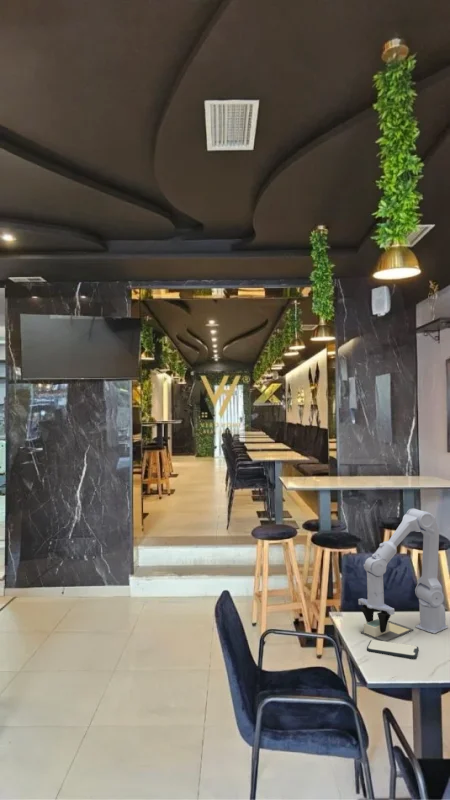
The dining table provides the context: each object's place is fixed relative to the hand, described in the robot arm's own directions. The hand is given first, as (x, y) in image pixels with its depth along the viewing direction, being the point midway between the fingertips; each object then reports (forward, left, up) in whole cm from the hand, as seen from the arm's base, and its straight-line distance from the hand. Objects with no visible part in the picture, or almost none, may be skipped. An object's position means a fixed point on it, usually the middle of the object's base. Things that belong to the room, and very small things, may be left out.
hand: (376, 629), depth 189 cm
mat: (-4, +1, -2) cm, 5 cm away
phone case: (+7, +12, -2) cm, 14 cm away
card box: (0, 0, -1) cm, 1 cm away
